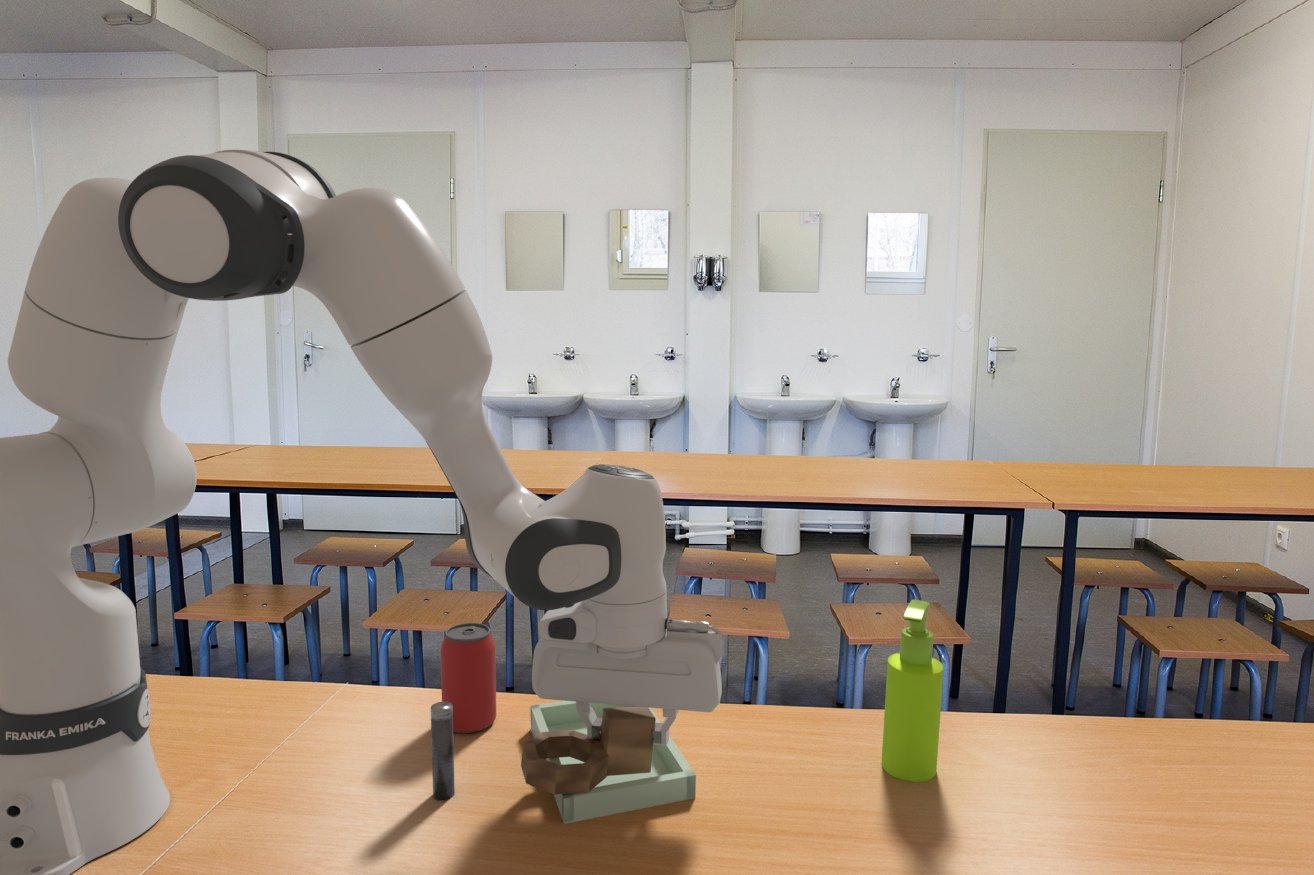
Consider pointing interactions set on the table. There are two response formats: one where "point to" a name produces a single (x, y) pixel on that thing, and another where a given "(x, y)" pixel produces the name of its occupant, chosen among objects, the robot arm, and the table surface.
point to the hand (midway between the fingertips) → (627, 739)
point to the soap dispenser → (913, 702)
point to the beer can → (469, 676)
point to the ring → (591, 752)
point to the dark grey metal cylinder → (442, 750)
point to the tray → (618, 791)
